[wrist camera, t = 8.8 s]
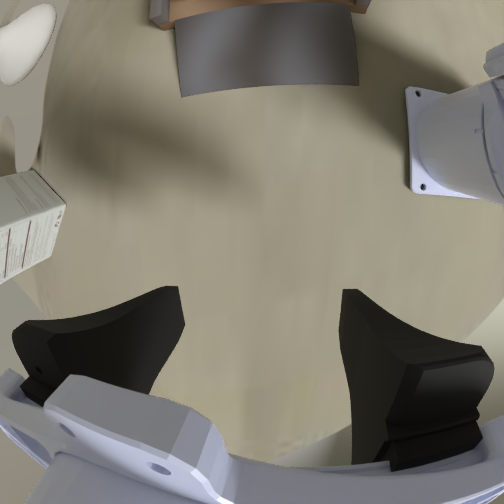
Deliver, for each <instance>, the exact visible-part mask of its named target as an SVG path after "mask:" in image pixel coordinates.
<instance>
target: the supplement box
mask: <svg viewBox="0 0 504 504" xmlns="http://www.w3.org/2000/svg"><path fill="white" fill-rule="evenodd" d="M65 208H66V203H65V202H64V201H63V200H62V199H61V198H60V197H59V196H58V195H57V194H56V193H55V192H54V191H53V190H52V189H51V188H50V187H49V186H48V185H47V184H46V183H45V182H44V181H43V180H42V178H41V177H40V176H39V175H38V174H37V173H36V172H35V171H34V170H32V171H26V172H21V173H16V174H11V175H7V176H2V177H0V284H2V283H3V282H5V281H7V280H8V279H10V278H12V277H14V276H15V275H17V274H19V273H21V272H22V271H24V270H26V269H28V268H30V267H32V266H33V265H35V264H37V263H39V262H41V261H43V260H45V259H47V258H49V257H50V256H51V254H52V251H53V248H54V244H55V241H56V237H57V234H58V230H59V227H60V224H61V221H62V217H63V214H64V211H65Z"/></svg>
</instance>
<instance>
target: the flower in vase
mask: <svg viewBox="0 0 504 504" xmlns="http://www.w3.org/2000/svg"><path fill="white" fill-rule="evenodd" d="M55 23H56V10H55V7H54V5H52V4H50V3H45V4H40V5H37V6H35V7H33V8H31V9H29V10H28V11H26V12H25V13H23V14H22V15H21V16H19V17H18V18H17V19H15V20H14V21H13V22H11V23H10V24H8V25H6V26H5V27H1V28H0V79H1V81H2V82H3V83H4V84H6V85H7V86H13V85H15V84H17V83H19V82H20V81H22V80H23V79H24V78H25V77H26V76H27V75H28V74H29V73H30V72H31V71H32V69H33V68H34V67H35V65H36V64H37V62H38V61H39V59H40V58H41V56H42V54H43V52H44V51H45V49H46V47H47V45H48V43H49V40H50V38H51V36H52V33H53V30H54V27H55Z"/></svg>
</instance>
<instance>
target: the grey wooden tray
mask: <svg viewBox="0 0 504 504" xmlns="http://www.w3.org/2000/svg"><path fill="white" fill-rule="evenodd" d="M370 2H371V0H151V2H150V12H149V19H150V20H151V21H152V22H154V23H155V24H156V25H157V26H159V27H160V28H161V29H162V30H164V31H165V30H169V29H172V28H175V34H176V47H177V58H178V69H179V79H180V89H181V97H186V96H191V95H197V94H202V93H208V92H215V91H222V90H230V89H238V88H247V87H258V86H272V85H296V84H329V85H352V86H359V80H358V68H357V58H356V49H355V41H354V33H353V26H352V20H351V14H350V12H355V13H364V14H365V13H366V11H367V8H368V6H369V4H370Z"/></svg>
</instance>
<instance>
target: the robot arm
mask: <svg viewBox="0 0 504 504" xmlns="http://www.w3.org/2000/svg"><path fill="white" fill-rule="evenodd" d="M483 68H484V70H485V71H486V73H487V75H488V76H489V77H490V78H491V77H495V76H497V77H495V78H493V79H491V80H488V81H486V82H483V83H480V84H477V85H474V86H471V87H468V88H466V89H463V90H460V91H457V92H454V93H452V94H446V93H442V92H438V91H433V90H428V89H423V88H418V87H412V86H409V87H408V88H406V90H405V97H406V106H407V116H408V129H409V148H410V189H411V191H412V192H414V193H418V194H432V195H445V196H456V197H467V198H476V199H483V200H486V201H489V202H492V203H495V204H498V205H501V206H504V43H502V44H500V45H498V46H496V47H494V48H492V49H490V50H489V51H487V53H486V63H485V64H484V65H483ZM499 75H500V76H499ZM416 91H417V92H418V93H419V95H420V96H419V97H418V96H417V95H416V93H415V92H416ZM421 184H423V185H424V189H423V190H421V188H420V186H421ZM184 326H185V321H184V316H183V311H182V306H181V300H180V295H179V289H178V286H164V287H160V288H157V289H155V290H152V291H150V292H148V293H145V294H143V295H141V296H138V297H136V298H134V299H131V300H129V301H126V302H124V303H121V304H119V305H116V306H114V307H111V308H108V309H105V310H102V311H99V312H95V313H91V314H87V315H82V316H77V317H72V318H65V319H56V320H28V321H25V322H24V323H22V324H21V325H20V326H18V327H17V328H16V329H15V330H13V333H12V340H13V344H14V347H15V350H16V352H17V354H18V356H19V358H20V360H21V362H22V364H23V365H24V367H25V369H26V371H27V372H28V374H29V377H28V378H27V379H26V380H25V379H24V378H23V376H21V375H20V374H19V373H17V372H15V371H14V370H12V369H10V368H9V369H8V370H7V371H5V372H4V373H3V374H2V375H1V376H0V427H1V429H2V430H3V431H4V432H5V433H6V434H7V436H8V437H9V438H10V439H11V440H13V441H14V442H15V443H16V444H17V445H18V446H19V447H21V448H22V449H23V450H24V451H25V452H26V453H28V454H29V455H30V456H31V457H32V458H33V459H35V460H36V461H37V462H38V463H40V464H41V465H42V466H44V467H45V468H46V471H45V472H44V474H43V475H42V476H41V478H40V479H39V481H38V482H37V483H36V485H35V486H34V488H33V489H32V491H31V492H30V494H29V495H28V497H27V498H26V500H25V501H24V503H23V504H487V503H489V502H491V501H492V500H494V499H495V498H496V497H498V496H499V495H500V494H502V493H503V492H504V415H502V416H500V417H498V418H495V419H493V420H490V421H488V422H486V423H485V424H483V425H482V426H481V427H480V428H479V426H478V424H477V422H476V420H478V418H479V416H480V414H479V412H478V410H477V408H476V407H477V406H478V404H479V402H480V401H481V399H482V398H483V396H484V394H485V393H486V391H487V389H488V387H489V385H490V383H491V381H492V378H493V374H494V364H493V362H492V361H491V359H490V358H489V356H488V355H487V353H486V352H485V350H484V349H483V348H482V346H477V345H471V344H465V343H459V342H455V341H451V340H447V339H443V338H440V337H437V336H434V335H431V334H429V333H426V332H424V331H421V330H419V329H417V328H415V327H413V326H411V325H409V324H407V323H405V322H403V321H401V320H400V319H398V318H396V317H395V316H393V315H392V314H390V313H389V312H387V311H386V310H384V309H383V308H382V307H380V306H379V305H378V304H376V303H375V302H374V301H372V300H371V299H370V298H369V297H367V296H366V295H365V294H363V293H362V292H361V291H359V290H358V289H343V292H342V303H341V313H340V322H339V340H340V350H341V354H342V359H343V363H344V368H345V372H346V377H347V381H348V386H349V392H350V400H351V417H352V463H351V465H347V466H331V467H284V466H279V465H274V464H269V463H265V462H260V461H256V460H252V459H248V458H244V457H240V456H237V455H233V454H229V453H227V451H226V448H225V444H224V441H223V437H222V436H221V434H220V433H219V432H218V430H217V429H216V427H215V426H214V425H213V423H212V422H211V421H210V420H209V419H208V418H206V417H204V416H203V415H201V414H200V413H198V412H197V411H195V410H194V409H192V408H191V407H188V406H185V405H182V404H180V403H177V402H174V401H171V400H169V399H165V398H160V397H156V396H152V395H149V392H150V390H151V388H152V386H153V383H154V381H155V379H156V378H157V376H158V374H159V372H160V371H161V369H162V367H163V366H164V364H165V363H166V361H167V359H168V358H169V356H170V355H171V353H172V351H173V350H174V348H175V346H176V345H177V343H178V341H179V339H180V336H181V334H182V332H183V329H184Z"/></svg>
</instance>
